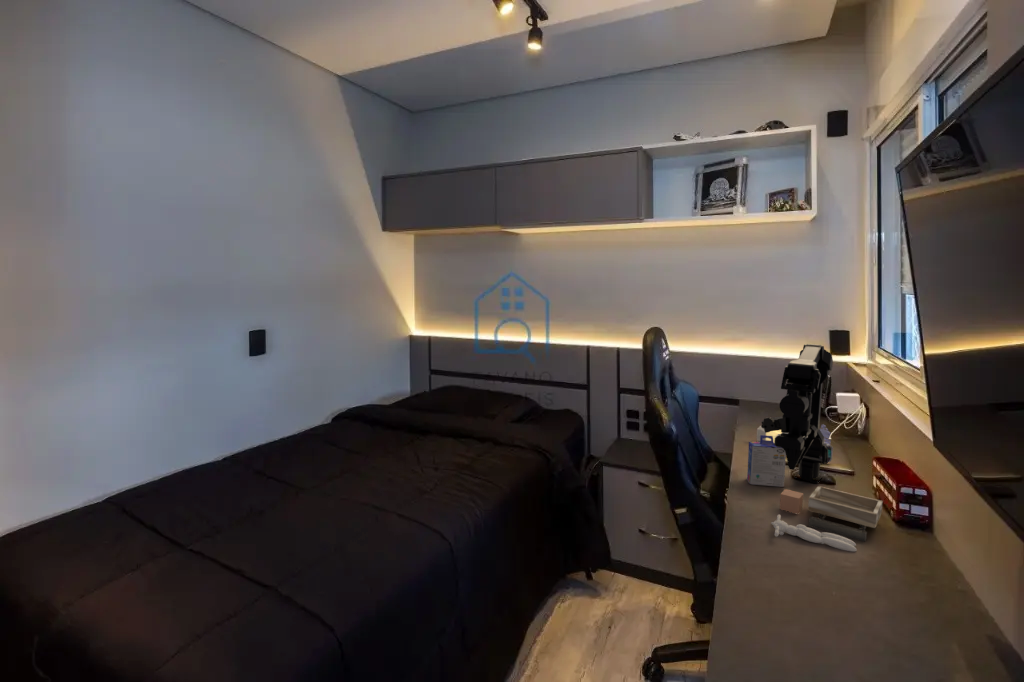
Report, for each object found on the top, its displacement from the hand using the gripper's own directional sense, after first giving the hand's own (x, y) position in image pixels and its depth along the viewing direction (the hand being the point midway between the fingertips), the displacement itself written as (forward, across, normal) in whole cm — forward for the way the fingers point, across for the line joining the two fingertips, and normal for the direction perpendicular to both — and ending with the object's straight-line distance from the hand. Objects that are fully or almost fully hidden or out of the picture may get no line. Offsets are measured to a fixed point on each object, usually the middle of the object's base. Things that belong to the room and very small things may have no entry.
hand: (794, 466), depth 142 cm
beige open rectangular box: (+12, -2, +12) cm, 17 cm away
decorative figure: (+13, +15, +8) cm, 21 cm away
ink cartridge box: (+12, -15, -11) cm, 22 cm away
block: (+12, 0, 0) cm, 12 cm away
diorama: (+12, -52, -12) cm, 55 cm away
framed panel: (+12, -7, +12) cm, 18 cm away
